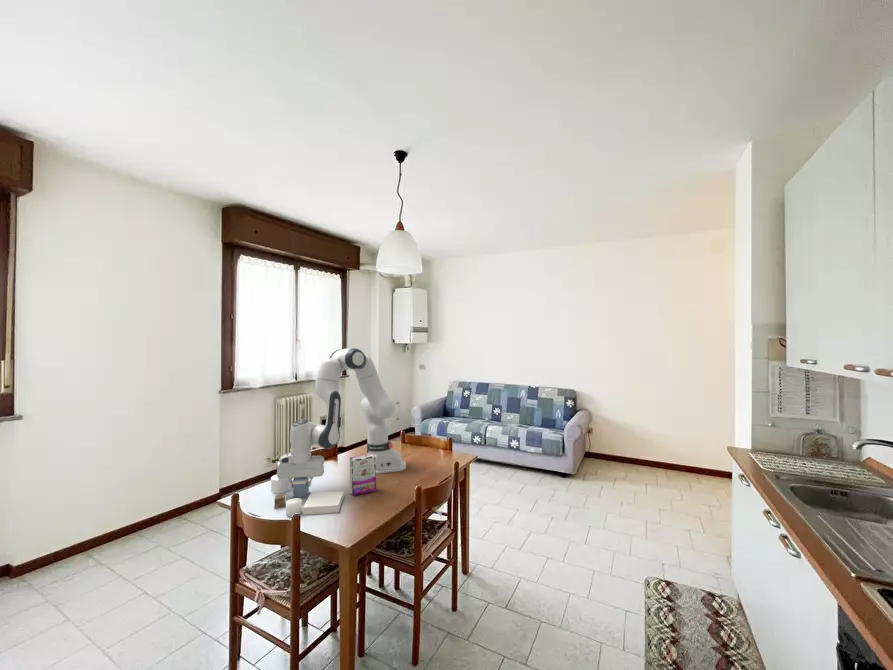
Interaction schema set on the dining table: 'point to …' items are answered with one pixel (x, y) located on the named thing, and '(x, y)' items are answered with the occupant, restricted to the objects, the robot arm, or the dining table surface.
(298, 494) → the carton
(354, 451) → the dining table surface
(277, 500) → the walnut block
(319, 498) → the podium
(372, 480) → the candy bar box
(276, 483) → the base with upright slab
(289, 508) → the white rounded block
